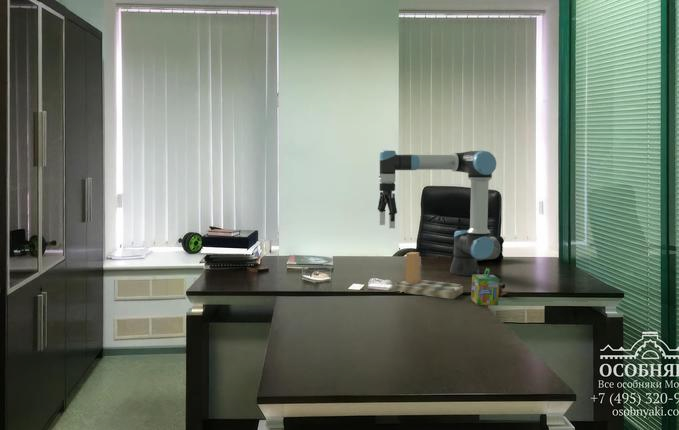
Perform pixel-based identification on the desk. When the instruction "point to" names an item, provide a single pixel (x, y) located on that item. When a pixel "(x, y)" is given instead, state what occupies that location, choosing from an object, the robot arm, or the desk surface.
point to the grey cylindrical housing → (496, 252)
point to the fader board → (430, 288)
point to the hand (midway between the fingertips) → (386, 226)
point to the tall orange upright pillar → (412, 267)
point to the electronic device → (501, 286)
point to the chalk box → (485, 289)
